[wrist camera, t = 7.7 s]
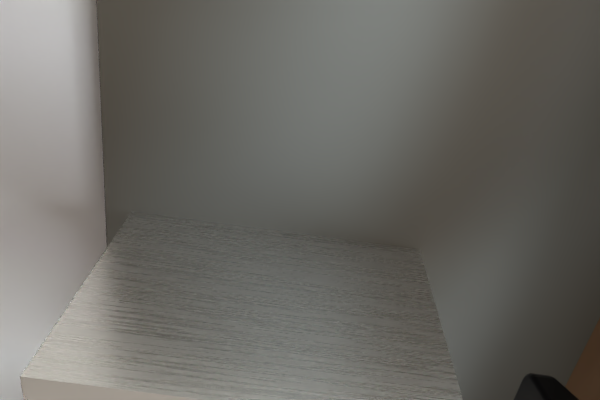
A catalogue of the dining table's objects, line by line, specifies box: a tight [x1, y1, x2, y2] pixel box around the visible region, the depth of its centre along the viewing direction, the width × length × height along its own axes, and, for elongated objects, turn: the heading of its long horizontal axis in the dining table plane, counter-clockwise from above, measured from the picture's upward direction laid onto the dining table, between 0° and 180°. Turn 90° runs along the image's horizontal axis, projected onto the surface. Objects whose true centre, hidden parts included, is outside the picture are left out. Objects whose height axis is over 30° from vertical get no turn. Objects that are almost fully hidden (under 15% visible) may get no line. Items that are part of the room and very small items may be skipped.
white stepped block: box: [20, 211, 463, 400], centre depth 10 cm, size 6×4×4 cm, turn 83°
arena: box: [97, 0, 600, 400], centre depth 10 cm, size 12×14×4 cm
